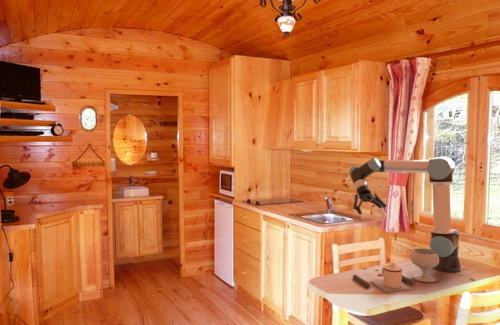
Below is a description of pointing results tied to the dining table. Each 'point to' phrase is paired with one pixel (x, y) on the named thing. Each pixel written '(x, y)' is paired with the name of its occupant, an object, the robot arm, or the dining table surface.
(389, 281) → the teacup with lid
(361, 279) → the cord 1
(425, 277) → the chalice
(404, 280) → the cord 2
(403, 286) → the slate tile
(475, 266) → the dining table surface
